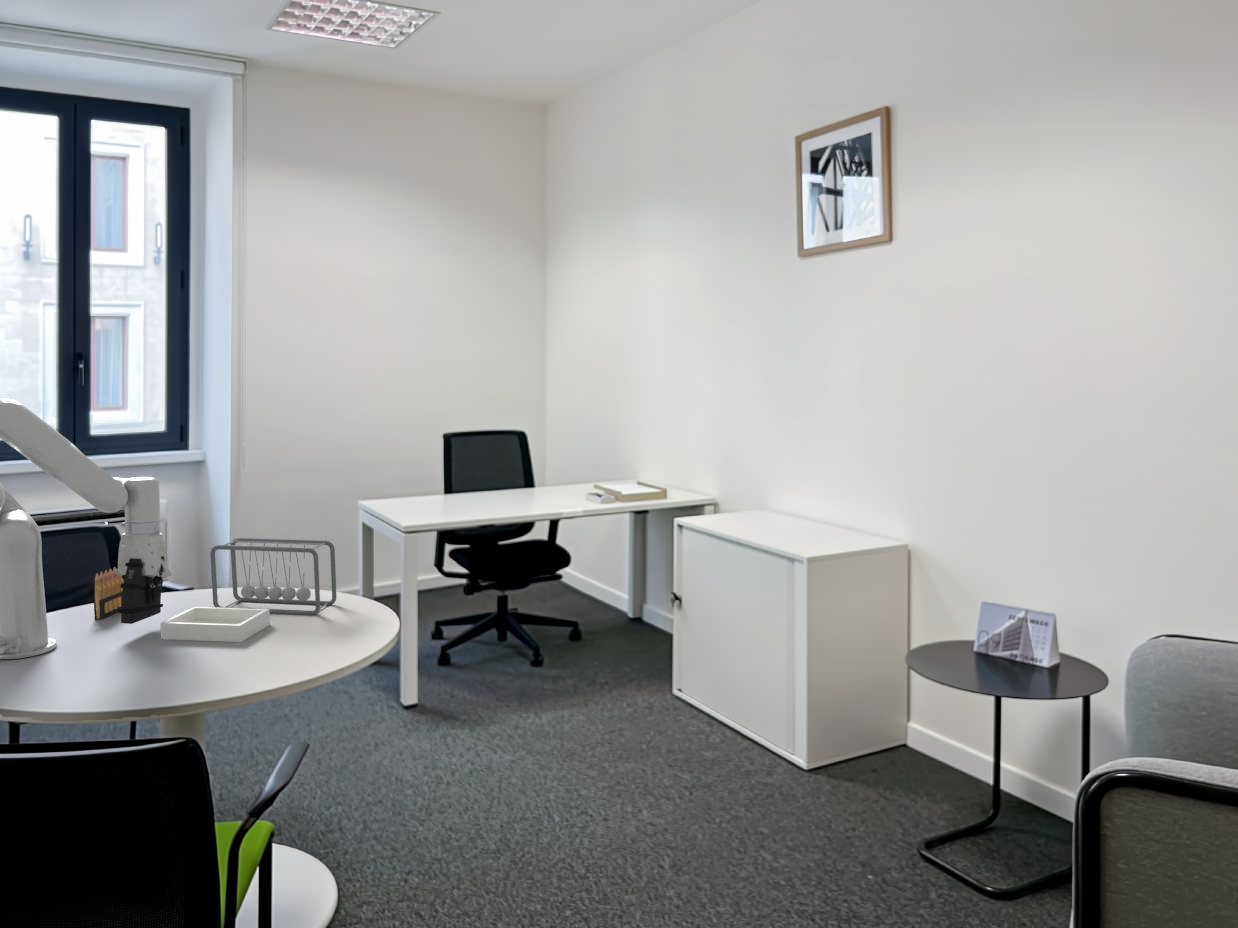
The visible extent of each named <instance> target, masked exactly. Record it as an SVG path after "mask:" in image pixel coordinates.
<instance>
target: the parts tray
mask: <svg viewBox="0 0 1238 928" xmlns="http://www.w3.org/2000/svg"><path fill="white" fill-rule="evenodd" d="M249 608H250V607H237V608H219V607H214V606H213V607H212V606H193V607H190V608H188V609H187V610H184V611H182V612H180V613H178V614H176V615H174V616H172V617H170V618H168V619H166V620H164V621H161V622H160V636H161V637H160V638H161V640H168V641H170V640H171V641H172V640H174V641H193V642H195V641H199V642H201V641H202V642H203V641H204V642H220V643H221V642H226V643H242V642H244V641H246V640H247V639H249V638H250V637H253V636H254V635H255V634H257V633H258V632H260V631H262V630H263V629H265V628H267V627H269V626H271V620H270V619H271V615H270V614H271V613H270V612H269V609H270V608H259V609H249Z"/></svg>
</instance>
